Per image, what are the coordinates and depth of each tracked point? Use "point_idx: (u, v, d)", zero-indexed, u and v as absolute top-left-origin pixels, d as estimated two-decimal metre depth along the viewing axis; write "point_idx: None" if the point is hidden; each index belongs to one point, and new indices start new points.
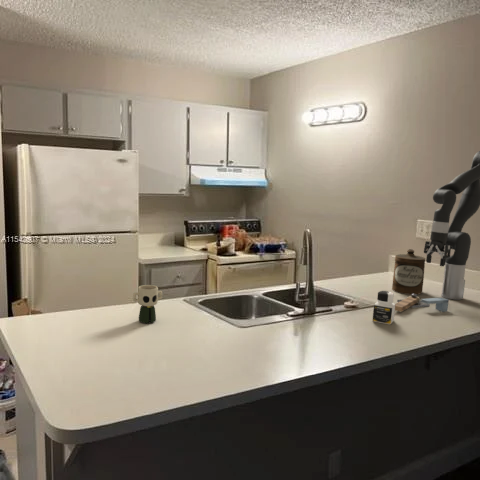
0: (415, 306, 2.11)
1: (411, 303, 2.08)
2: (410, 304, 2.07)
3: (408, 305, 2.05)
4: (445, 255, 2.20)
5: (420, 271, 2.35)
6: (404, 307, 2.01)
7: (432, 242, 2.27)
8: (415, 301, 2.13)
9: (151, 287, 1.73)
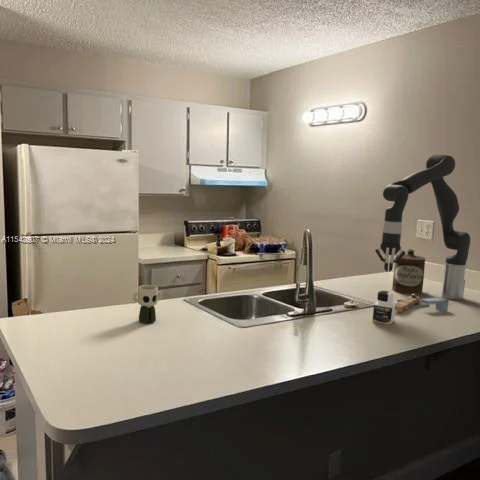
0: (415, 306, 2.11)
1: (411, 303, 2.08)
2: (410, 304, 2.07)
3: (408, 305, 2.05)
4: None
5: (420, 271, 2.35)
6: (404, 307, 2.01)
7: None
8: (415, 301, 2.13)
9: (151, 287, 1.73)
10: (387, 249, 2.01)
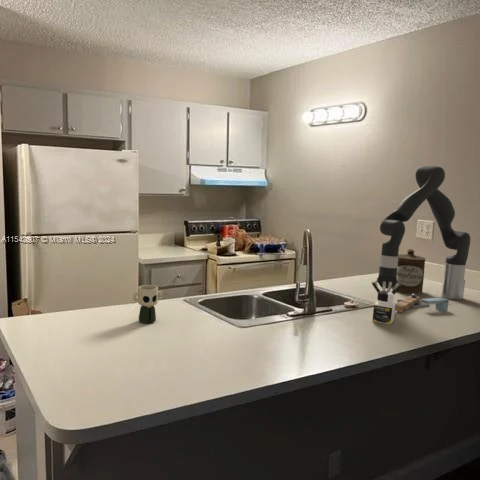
0: (415, 306, 2.11)
1: (411, 303, 2.08)
2: (410, 304, 2.07)
3: (408, 305, 2.05)
4: None
5: (420, 271, 2.35)
6: (404, 307, 2.01)
7: None
8: (415, 301, 2.13)
9: (151, 287, 1.73)
10: (383, 283, 2.03)
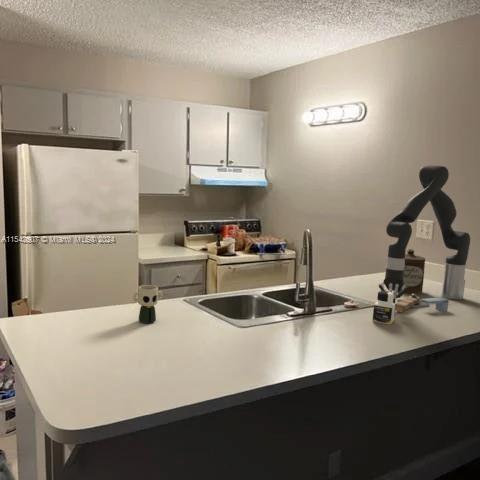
0: (415, 306, 2.11)
1: (411, 303, 2.08)
2: (410, 304, 2.07)
3: (408, 305, 2.05)
4: None
5: (420, 271, 2.35)
6: (404, 307, 2.01)
7: None
8: (415, 301, 2.13)
9: (151, 287, 1.73)
10: (390, 285, 2.02)
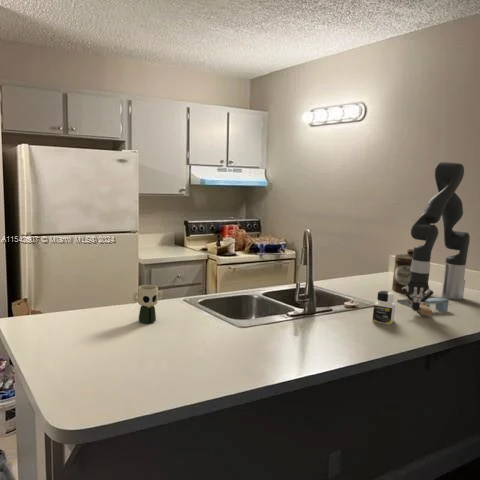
0: None
1: None
2: None
3: None
4: None
5: None
6: None
7: None
8: None
9: (151, 287, 1.73)
10: (415, 288, 1.97)
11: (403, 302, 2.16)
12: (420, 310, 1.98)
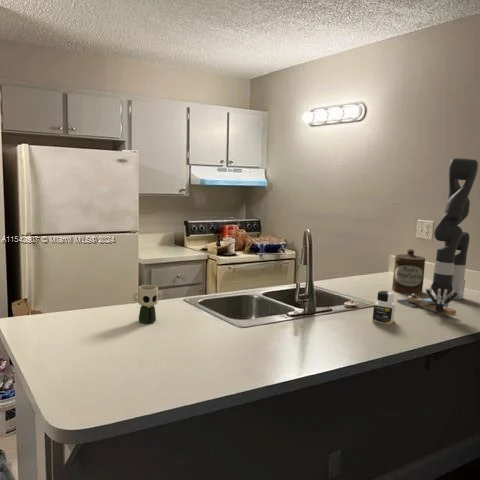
0: (415, 306, 2.11)
1: None
2: None
3: None
4: None
5: (420, 271, 2.35)
6: None
7: None
8: None
9: (151, 287, 1.73)
10: (438, 290, 1.96)
11: (403, 302, 2.16)
12: (444, 311, 1.98)
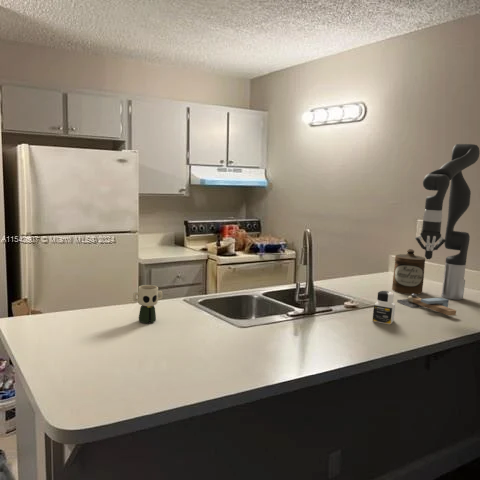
0: (415, 306, 2.11)
1: None
2: None
3: None
4: None
5: (420, 271, 2.35)
6: None
7: None
8: None
9: (151, 287, 1.73)
10: (428, 237, 2.05)
11: (403, 302, 2.16)
12: (444, 311, 1.98)
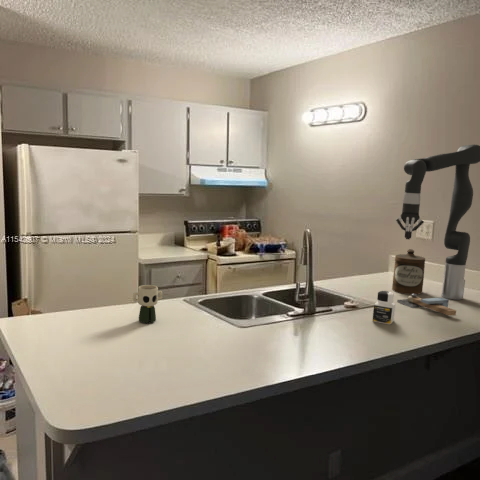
0: (415, 306, 2.11)
1: None
2: None
3: None
4: None
5: (420, 271, 2.36)
6: None
7: None
8: None
9: (151, 287, 1.73)
10: (407, 218, 2.20)
11: (403, 302, 2.16)
12: (444, 311, 1.98)
